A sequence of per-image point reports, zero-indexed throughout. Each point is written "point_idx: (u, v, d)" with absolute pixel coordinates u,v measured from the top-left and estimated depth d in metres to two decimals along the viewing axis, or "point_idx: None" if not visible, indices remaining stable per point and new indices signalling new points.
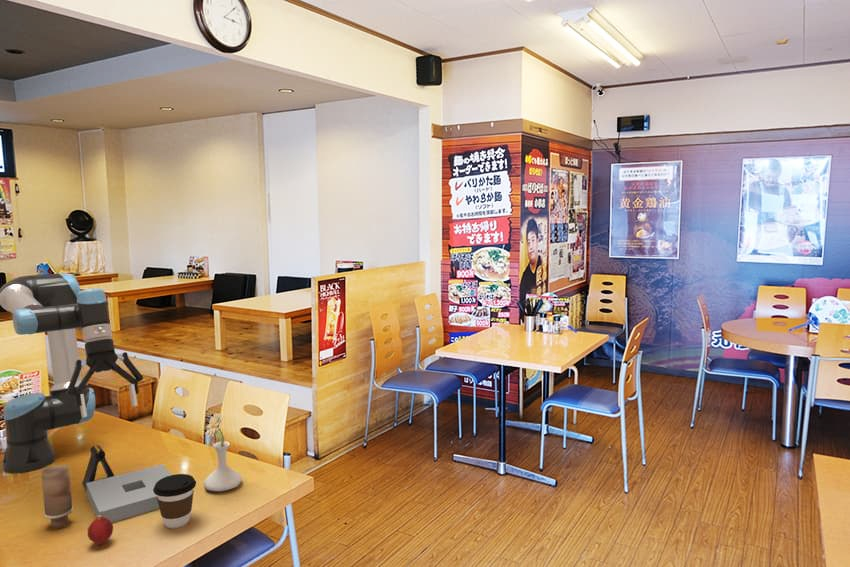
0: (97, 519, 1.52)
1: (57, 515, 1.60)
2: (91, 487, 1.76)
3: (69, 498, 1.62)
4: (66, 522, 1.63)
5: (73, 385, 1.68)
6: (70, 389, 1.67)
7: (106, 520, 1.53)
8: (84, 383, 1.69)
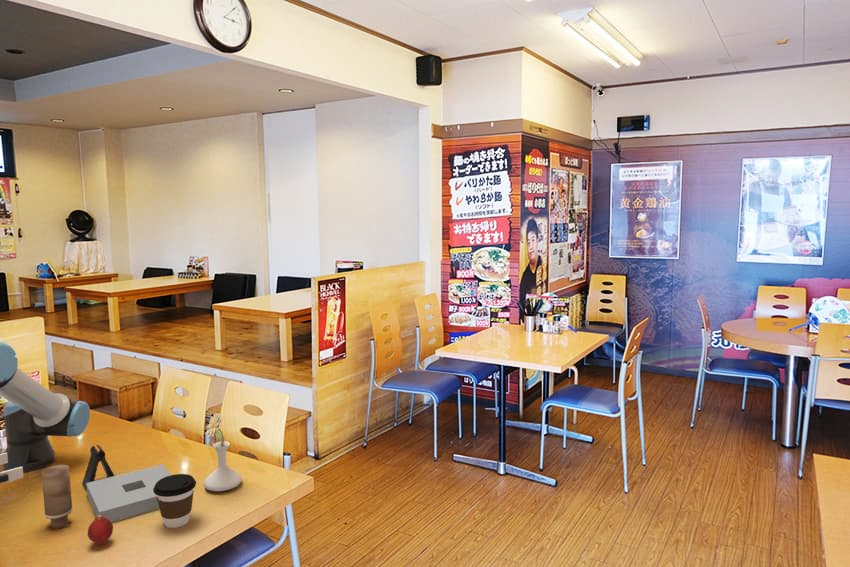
0: (97, 519, 1.52)
1: (57, 515, 1.60)
2: (91, 487, 1.76)
3: (69, 498, 1.62)
4: (66, 522, 1.63)
5: None
6: None
7: (106, 520, 1.53)
8: None
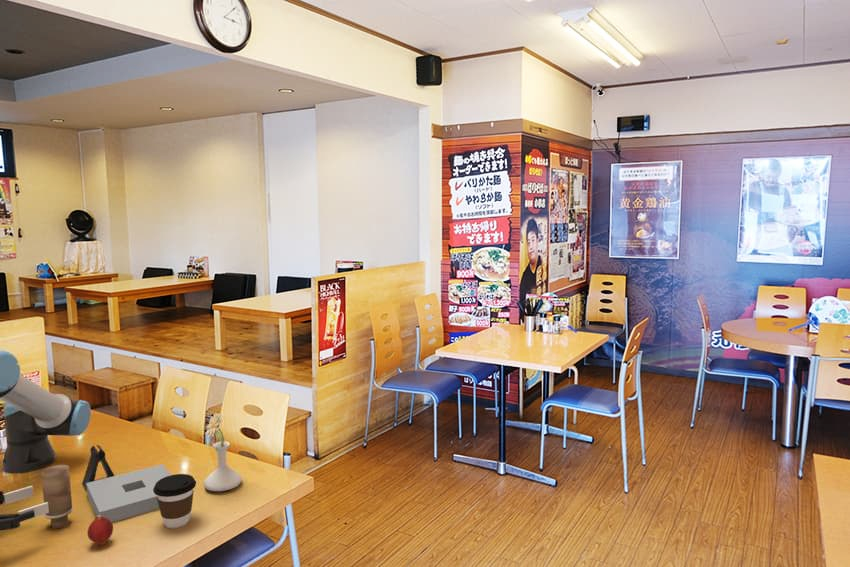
0: (97, 519, 1.52)
1: (57, 515, 1.60)
2: (91, 487, 1.76)
3: (69, 498, 1.62)
4: (66, 522, 1.63)
5: None
6: None
7: (106, 520, 1.53)
8: None
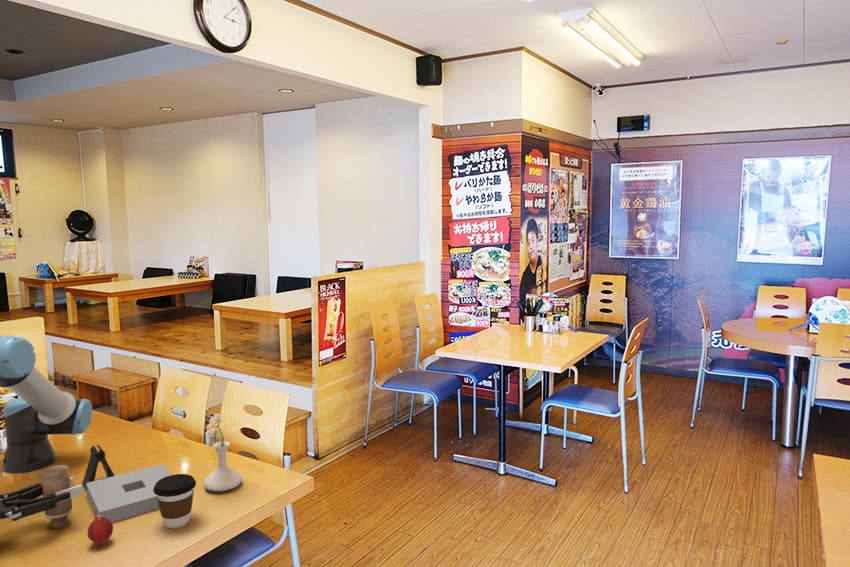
0: (97, 519, 1.52)
1: (57, 515, 1.60)
2: (91, 487, 1.76)
3: None
4: (66, 522, 1.63)
5: None
6: None
7: (106, 520, 1.53)
8: None
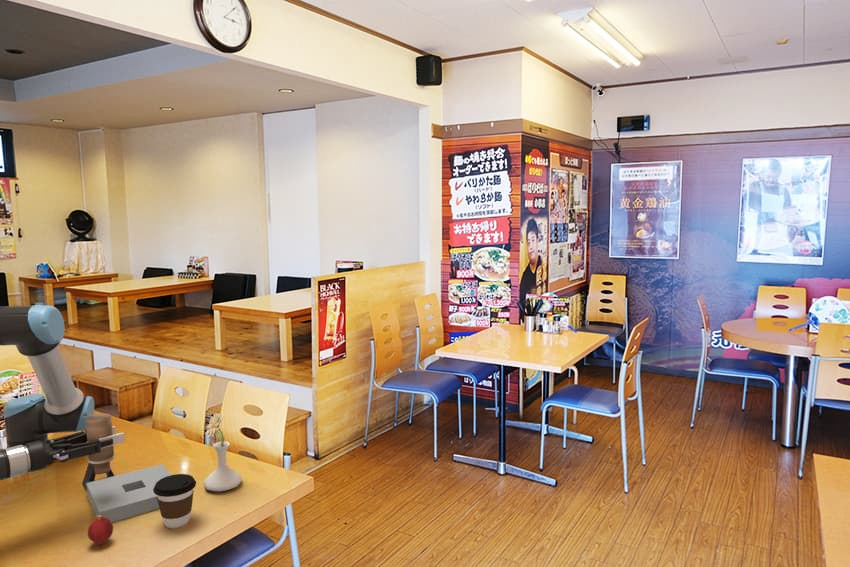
0: (97, 519, 1.52)
1: (100, 461, 1.66)
2: (91, 487, 1.76)
3: None
4: (108, 468, 1.69)
5: None
6: None
7: (106, 520, 1.53)
8: None
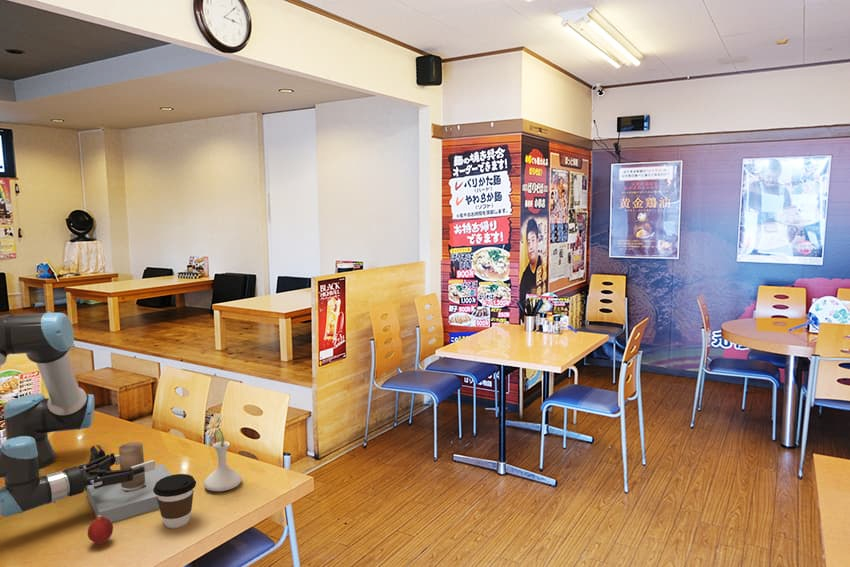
0: (97, 519, 1.52)
1: (133, 488, 1.74)
2: (91, 487, 1.76)
3: None
4: None
5: None
6: None
7: (106, 520, 1.53)
8: None
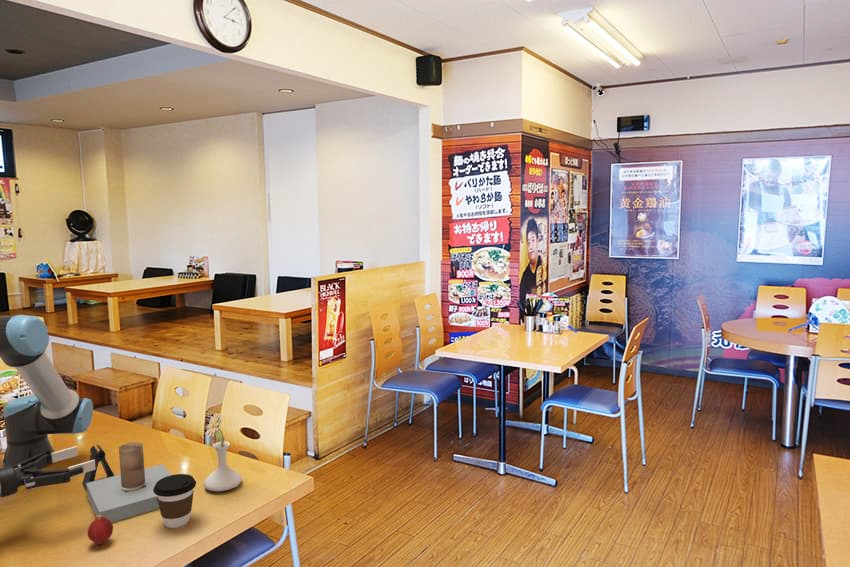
0: (97, 519, 1.52)
1: (133, 488, 1.74)
2: (91, 487, 1.76)
3: (143, 472, 1.77)
4: None
5: None
6: None
7: (106, 520, 1.53)
8: None
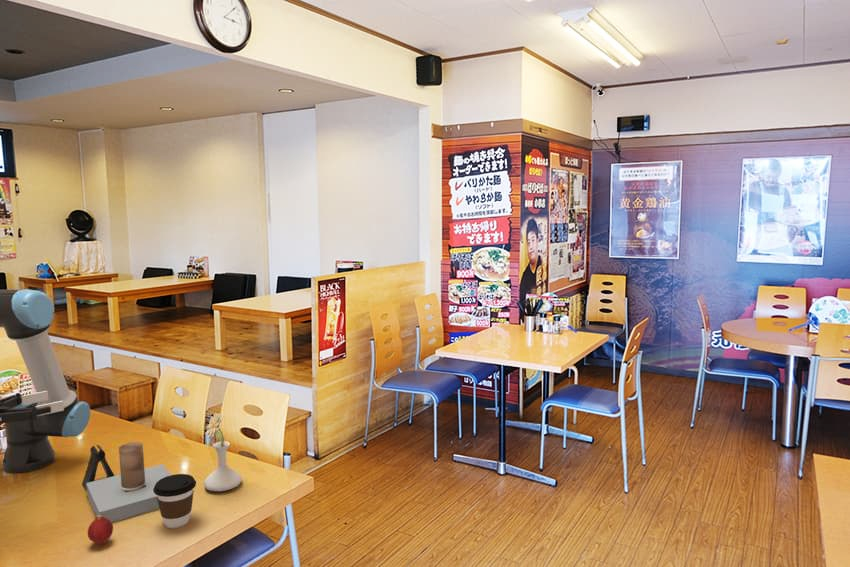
0: (97, 519, 1.52)
1: (133, 488, 1.74)
2: (91, 487, 1.76)
3: (143, 472, 1.77)
4: None
5: None
6: None
7: (106, 520, 1.53)
8: None
